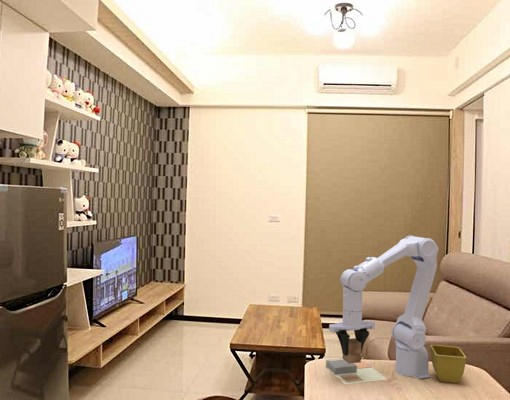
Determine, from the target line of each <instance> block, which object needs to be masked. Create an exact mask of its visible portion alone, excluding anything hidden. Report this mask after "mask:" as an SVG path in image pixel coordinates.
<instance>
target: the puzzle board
mask: <svg viewBox="0 0 510 400" xmlns="http://www.w3.org/2000/svg"><path fill="white" fill-rule="evenodd" d="M354 364H355V365H356V366H357V372H354V373H345V374H336V375H335V374H334V373H333V372H332V371H331V370H330V369H329V368H327V367H326V366H325V368H326V369H327V370H329V371H330V373H331V374H332V375H334V376H335V377H336V378H337V379H338V380H339V381H341V382H342V384H343V385H352V384H359V383H360V384H361V383H370V382H377V381H386V380H388V378H387V377H385V376H384V375H383V374H381V373H380V371H377V369H375V368H373V367H372V365H370V364H369V363H367V362H366V361H365V360H361V362H360V363H354ZM353 374H355V375H356V376H357V377H359V378H360V379H361V380H360V381H352V382H347V381H346V380H345V379H344V378H343V377H342V376H344V375H345V376H346V375H353Z"/></svg>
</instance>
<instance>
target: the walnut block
mask: <svg viewBox="0 0 510 400" xmlns="http://www.w3.org/2000/svg"><path fill="white" fill-rule="evenodd" d="M342 359H344V360H345V361H346V362H347V363H349V364H351V363H360V362H361V361H362V352H361V342H359V341H358V340H356V339H355V337H354V338H353V337H352V338H349V342H348V355H347V356H345V355H344V354H342Z"/></svg>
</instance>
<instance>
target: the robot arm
mask: <svg viewBox="0 0 510 400" xmlns="http://www.w3.org/2000/svg"><path fill="white" fill-rule="evenodd" d="M439 249H440V248H439V246H438V245H437V243H436V242H435V240H433V239H432V238H430V237H429V238H428V237H426V238H425V237H420V236H415V235H407V236H405V238H402V239H400V240H399V242H398V243H397V244H395V245H394V246H392V247H391V248H390V249H388V250H387V251H385V252H384V253H383V254H381V255H379V256H378V257H375V256H371V257H370V256H368V257H366V258H365V261H363V262H361V263H360V264H358V265H354V266H353V268H352V269H346V270H344V271H343V272H342V274H341V277H339V281H340V282H339V283H340V284H341V286H342V291H343V292H342V293H343V294H342V321H341V322H337V323H332V324H331V323H330V324H329V326H328V331H329V332H330V333H332V334H334V333H335V335H336V336H337V338H338V341H339V345H340V348H341V353H342V355H343V354H344V355H345V356H347V355H348V342H349V339H351V338H350V337H351V335H350V334H348V331H349V332H350V331H354V338H355V339H356V340H358V341H359V342H361V353H362V351H363V349H364V345H365V342H366V340H367V338H368V337H369V335H370V331H368V330H375V329H376V326H375V325H376V323H375V322H373V321H372V320H370V321H367V320H365V321H364V320H363V290H364V289H366V287H367V284H368V283H369V282H370V281H372V280H374V279H375V278H377V277H378V276H379V275H382V274H383V272H384V269H385V267H387V266H389V265H391V264H393V263H395V262H396V261H398V260H400V259H402V258H404V257H409V258H411V259H412V261H413V262H414V263H415V266H416V270H415V271H416V272H415V275H414V279H413V282H412V284H411V285H412V286H411V289H410V293H409V296H408V300H407V303H406V307H405V310H404V313H403V314H401V315H400V316H397V320H396V323H394V325H393V326H392V329H391V335H392V338H393V339H394V340H395V345H396V346H395V372H396V373H397V374H400V375H402V376H406V377H415V378H417V379H427V378H431V376H430V374H429V352H428V350H427V349H426V347H425V345H426V337H427V336H426V333H427V332H426V330H427V326H425V323H424V321H423V317H424V315H425V310H426V306H427V304H428V299H429V296H430V294H431V289H432V286H433V282H434V279H435V275H436V272H437V268H438V262H437V259H438V258H437V255H438V253H439Z"/></svg>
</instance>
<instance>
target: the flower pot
mask: <svg viewBox="0 0 510 400" xmlns="http://www.w3.org/2000/svg"><path fill="white" fill-rule="evenodd" d="M429 347H430V359H431V363H432V367H433V370H434V372H435V373H436V376H437V378H438V380H439V381H440V382H445V383H446V382H447V383H453V384H457V383H459V382H460V381H461V379H462V378H463V375H464V372H465V367H466V362H467V356H466V355H465V354H464V352H463V351H462V350H461V348H460V347H458V346H450V345H449V346H448V345H437V344H436V345H435V344H430V345H429Z"/></svg>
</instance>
